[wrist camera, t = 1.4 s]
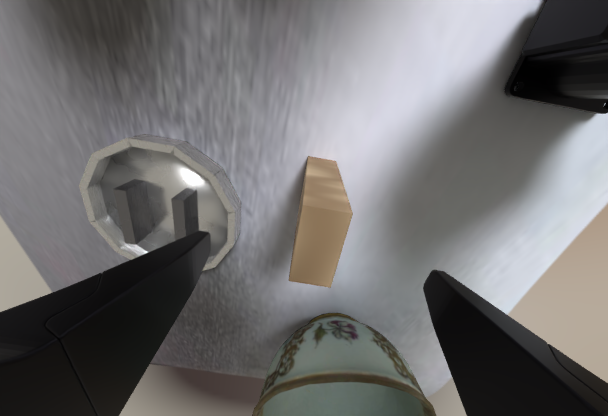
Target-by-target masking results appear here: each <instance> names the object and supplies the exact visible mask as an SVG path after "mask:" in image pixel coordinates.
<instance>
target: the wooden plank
mask: <svg viewBox="0 0 608 416" xmlns="http://www.w3.org/2000/svg"><path fill="white" fill-rule="evenodd" d="M352 215H353V213H352V210H351V207H350V203H349V200H348V197H347V194H346V191H345V188H344V185H343V182H342V178H341V175H340V172H339V169H338V166H337V163H336V161H332V160H327V159H321V158H316V157H310V156H308V160H307V165H306V171H305V176H304V182H303V188H302V193H301V199H300V204H299V211H298V218H297V225H296V232H295V239H294V246H293V253H292V260H291V267H290V275H289V281H292V282H299V283H305V284H311V285H317V286H324V287H330V288H331V284H332V281H333V278H334V274H335V271H336V268H337V264H338V261H339V258H340V254H341V251H342V248H343V245H344V241H345V238H346V235H347V231H348V228H349V225H350V221H351V218H352Z"/></svg>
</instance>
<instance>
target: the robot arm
mask: <svg viewBox="0 0 608 416" xmlns="http://www.w3.org/2000/svg"><path fill="white" fill-rule="evenodd" d="M517 83H518V85H519V86H518V88H517V90H516V91H515V90H514V87H515V85H516V84H517ZM504 90H505V94H506V95H507V96H510V97H515V98H520V99H525V100H530V101H535V102H540V103H545V104H550V105H555V106H561V107H566V108H571V109H576V110H581V111H586V112H591V113H600V114H606V113H608V0H547V1H546V3H545V5H544V7H543V9H542V11H541V14H540V16H539V18H538V20H537V22H536V24H535V26H534V28H533V30H532V32H531V34H530V36H529V38H528V40H527V42H526V44H525V46H524V48H523V51H522V54H521V56H520V58H519V60H518V62H517V64H516V66H515V68H514V70H513V72H512V74H511V76H510V78H509V80H508V82H507V84H506V86H505V89H504ZM605 103H606V104H605ZM604 104H605V106H604ZM603 106H604V107H603ZM210 252H211V235H210V233H209V232H206V231H197V232H194V233H192V234H190V235H187V236H185V237H183V238H180V239H178V240H176V241H173V242H171V243H169V244H166V245H164V246H162V247H160V248H157V249H155V250H153V251H150V252H148V253H146V254H143V255H141V256H139V257H136V258H134V259H132V260H129V261H127V262H125V263H122V264H120V265H118V266H115V267H113V268H111V269H108V270H106V271H104V272H103V273H99V274H97V275H94V276H92V277H90V278H87V279H85V280H83V281H80V282H78V283H75V284H73V285H71V286H68V287H66V288H63V289H61V290H58V291H56V292H53V293H50V294H48V295H45V296H43V297H40V298H37V299H35V300H32V301H29V302H26V303H24V304H21V305H19V306H16V307H13V308H10V309H8V310H5V311H2V312H0V416H119V414H120V413H121V411H122V409H123V408H124V406H125V404H126V402H127V401H128V399H129V398H130V396H131V394H132V393H133V391H134V389H135V388H136V386H137V384H138V383H139V381H140V379H141V377H142V376H143V374H144V372H145V371H146V369H147V367H148V366H149V364H150V362H151V361H152V359H153V357H154V356H155V354H156V352H157V351H158V349H159V347H160V346H161V344H162V342H163V341H164V339H165V337H166V336H167V334H168V332H169V330H170V329H171V327H172V325H173V324H174V322H175V320H176V319H177V317H178V315H179V314H180V312H181V310H182V309H183V307H184V305H185V304H186V302H187V300H188V299H189V297H190V295H191V293H192V292H193V290H194V288H195V286H196V284H197V282H198V280H199V277H200V275H201V273H202V271H203V268H204V266H205V264H206V262H207V260H208V257H209V255H210ZM423 289H424V294H425V297H426V301H427V305H428V309H429V312H430V316H431V320H432V323H433V326H434V329H435V332H436V335H437V338H438V340H439V343H440V345H441V348H442V351H443V353H444V356H445V359H446V361H447V364H448V367H449V369H450V372H451V375H452V377H453V380H454V382H455V385H456V388H457V391H458V393H459V396H460V398H461V401H462V404H463V406H464V409H465V412H466V414H467V416H608V383H606V382H605V381H603V380H602V379H600V378H599V377H597V376H596V375H594V374H593V373H591V372H590V371H588V370H587V369H585V368H584V367H582V366H581V365H579V364H578V363H576V362H575V361H573V360H572V359H570V358H569V357H567V356H566V355H564V354H563V353H561V352H560V351H559V350H557V349H556V348H554V347H553V346H551V345H550V344H547V342H546V341H544V340H543V339H541V338H540V337H538V336H537V335H535V334H534V333H532V332H531V331H530V330H528V329H527V328H525V327H524V326H522V325H521V324H519V323H518V322H517V321H515V320H514V319H512V318H511V317H509V316H508V315H506V314H505V313H504V312H502V311H501V310H499V309H498V308H496V307H495V306H493V305H492V304H491V303H489V302H488V301H486V300H485V299H483V298H482V297H480V296H479V295H478V294H476V293H475V292H473V291H472V290H470V289H469V288H467V287H466V286H465V285H463V284H462V283H460V282H459V281H457V280H456V279H454V278H453V277H451V276H450V275H449V274H447V273H446V272H444V271H439V270H432V271H431V272H430V274H429V276H428V278H427V280H426V281H425V283H424V287H423Z"/></svg>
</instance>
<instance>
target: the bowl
mask: <svg viewBox="0 0 608 416" xmlns="http://www.w3.org/2000/svg"><path fill="white" fill-rule="evenodd" d="M252 416H436V414H435V411H434V408H433V406H432V404H431V403H430V402H429V401H428V400H427V399H426V398H425V396H424V394H423V392H422V390H421V388H420V387H419V385H418V383H417V381H416V379H415V377H414V375H413V373H412V371H411V369H410V368H409V366H408V364H407V362H406V361H405V360H404V358H403V357H402V355H401V354H400V353H399V352H398V350H397V349H396V348H395V347H394V346H393V345H392V344H391V343H390V342H389V341H388V340H387V339H386V338H385V337H384V336H383V335H381V334H380V333H379V332H377V331H376V330H374V329H372V328H371V327H369V326H366V325H364V324H361V323H359V322H357V321H356V320H354V319H353V318H351V317H350V316H347V315H344V314H340V313H328V314H323V315H320V316H318V317H316V318H314V319H312V320H311V321H310V322H309V324H308V325H306V326H305V327H303V328H301V329H299V330H298V331H296V332H295V333H294V334H293V335H292V336H291V337H289V339H288V340H287V341H286V342H285V343H284V344H283V345H282V346H281V348H280V349H279V351H278V352H277V354H276V356H275V357H274V359H273V361H272V363H271V365H270V368H269V370H268V373H267V376H266V379H265V382H264V385H263V389H262V392H261V396H260V400H259V402H258V404H257V406H256V407H255V408H254V411H253V414H252Z"/></svg>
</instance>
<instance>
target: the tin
mask: <svg viewBox="0 0 608 416" xmlns="http://www.w3.org/2000/svg"><path fill="white" fill-rule="evenodd" d="M79 187H80V191H81V194H82V198H83V201H84V205H85V208H86V211H87V215H88V218H89V221H90V223H91V224H92V225H93V226H94V227H95V229H96V230H97V231H98V232H99V233H100V234H101V235H102V237H103V238H104V239H105V240H106V241H107V242H108V243H109V244H110V246H111V247H112V248H113V249H114V250H115V251H116V252H117V253H119V254H121V255H123V256H125V257H126V258H128V259H130V260H132V259H134V258H136V257H139V256H141V255H143V254H146V253H148V252H150V251H153V250H155V249H157V248H160V247H162V246H164V245H166V244H169V243H171V242H173V241H176V240H178V239H180V238H183V237H185V236H187V235H190V234H192V233H194V232H197V231H206V232H209V233H210V235H211V252H210V255H209V257H208V260H207V262H206V264H205V266H204V268H203V271H204V270H208V269H211V268H215V267H216V266H217V264H218V263H219V262H220V261H221V260H222V259H223V257H224V256H225V255H226V254H227V253H228V251H229V250H230V249H231V248H232V247H233V246H234V244H235V242H236V240H237V238H238V236H239V235H240V220H241V201H240V199H239V197H238V196H237V194H236V192H235V190H234V188H233V186H232V184H231V182H230V181H229V179H228V177H227V175H226V173H225V171H224V169H222V167H220V166H219V165H218V164H216V163H215V162H214V161H212V160H211V159H210V158H208V157H207V156H206V155H204V154H203V153H201V152H200V151H199V150H197V149H196V148H195V147H193V146H192V145H191V144H189V143H188V142H186V141H180V140H174V139H169V138H163V137H158V136H152V135H146V134H142V135H138V136H134V137H129V138H126V139H124V140H121V141H119V142H117V143H115V144H112V145H110V146H108V147H106V148H103V149H101V150H99V151H97V152H94V153H92V154H91V157H90V159H89V162H88V164H87V167H86V169H85V172H84V174H83V177H82V180H81V182H80V185H79Z"/></svg>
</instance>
